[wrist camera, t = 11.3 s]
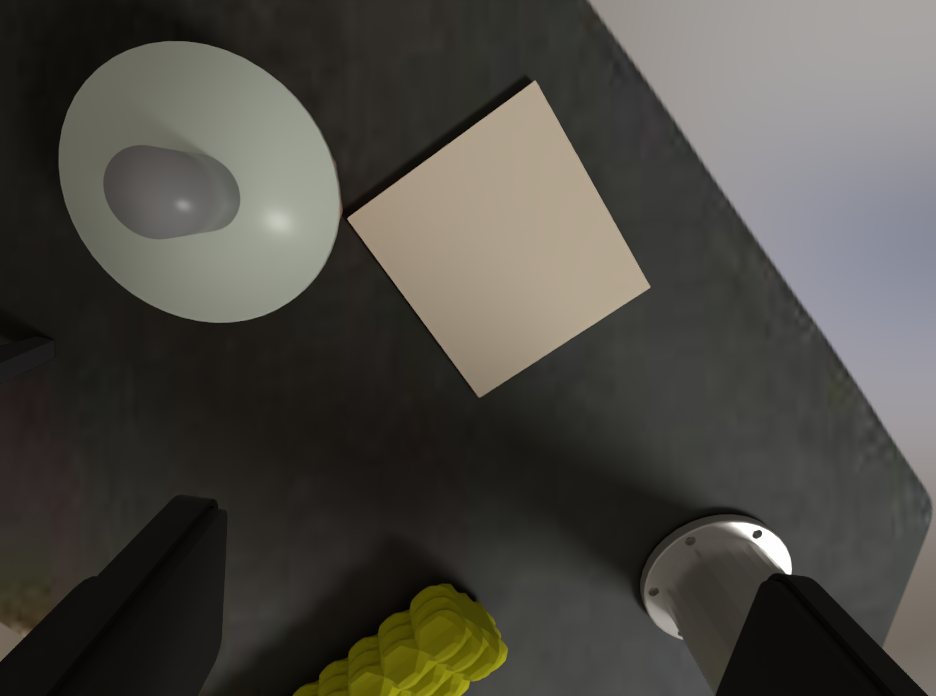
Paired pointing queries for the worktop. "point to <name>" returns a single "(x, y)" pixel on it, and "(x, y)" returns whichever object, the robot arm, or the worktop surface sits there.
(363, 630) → the worktop surface
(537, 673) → the worktop surface
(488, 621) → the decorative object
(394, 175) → the worktop surface
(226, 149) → the lid
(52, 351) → the planter
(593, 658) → the worktop surface
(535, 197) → the mat
